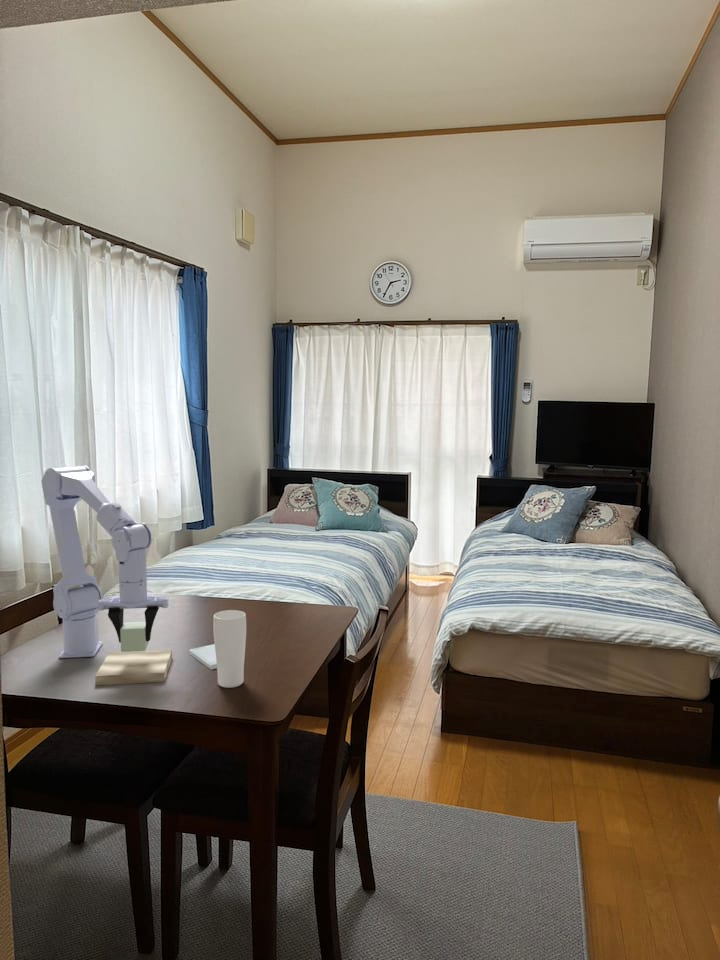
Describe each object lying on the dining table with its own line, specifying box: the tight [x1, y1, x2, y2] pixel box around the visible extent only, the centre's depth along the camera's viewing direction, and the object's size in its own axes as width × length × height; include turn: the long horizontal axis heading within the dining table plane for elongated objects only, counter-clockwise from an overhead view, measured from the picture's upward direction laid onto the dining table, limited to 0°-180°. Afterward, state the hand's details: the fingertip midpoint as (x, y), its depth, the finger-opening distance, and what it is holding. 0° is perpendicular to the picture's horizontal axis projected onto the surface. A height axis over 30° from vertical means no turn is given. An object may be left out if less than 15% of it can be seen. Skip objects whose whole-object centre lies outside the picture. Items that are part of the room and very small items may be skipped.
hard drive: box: [188, 643, 217, 670], centre depth 162 cm, size 2×8×12 cm
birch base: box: [94, 649, 173, 686], centre depth 154 cm, size 14×14×2 cm
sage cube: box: [120, 621, 150, 652], centre depth 153 cm, size 5×5×5 cm
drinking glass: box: [212, 609, 247, 689], centre depth 146 cm, size 7×7×15 cm
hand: (134, 640), depth 153 cm, fingers closed on sage cube, 5 cm apart
